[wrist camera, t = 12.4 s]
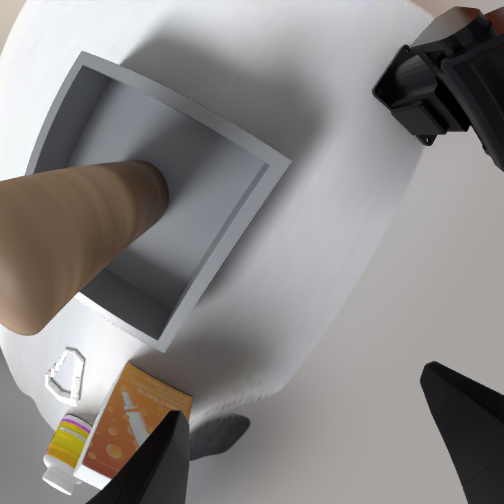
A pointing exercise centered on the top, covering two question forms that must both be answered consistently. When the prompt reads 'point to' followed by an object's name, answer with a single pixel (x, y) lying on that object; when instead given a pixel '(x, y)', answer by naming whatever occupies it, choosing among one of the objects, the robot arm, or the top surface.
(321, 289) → the top surface
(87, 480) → the small box
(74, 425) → the supplement bottle
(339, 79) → the top surface
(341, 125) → the top surface
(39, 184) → the brown cylinder
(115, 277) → the grey tote
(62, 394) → the saw cookie cutter
